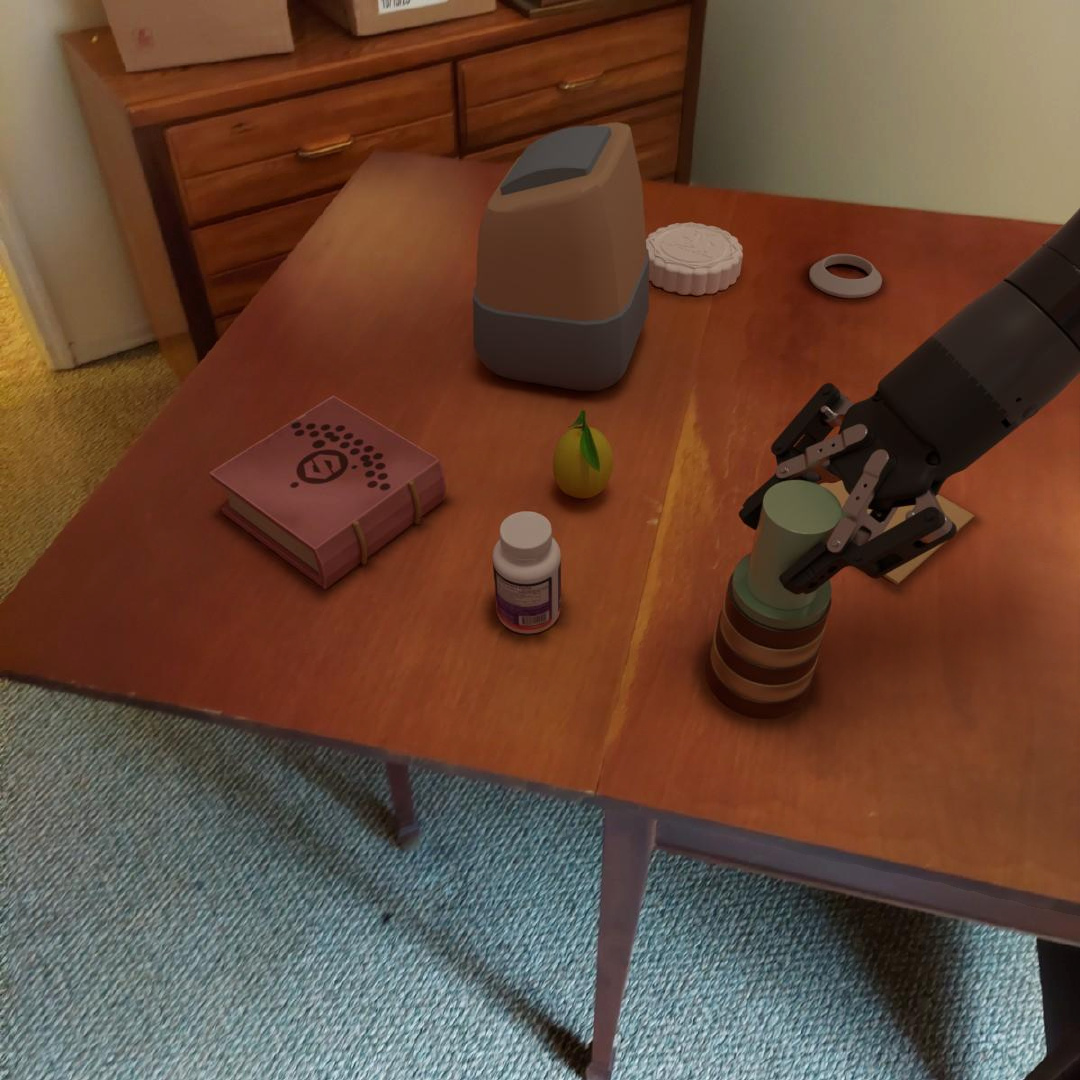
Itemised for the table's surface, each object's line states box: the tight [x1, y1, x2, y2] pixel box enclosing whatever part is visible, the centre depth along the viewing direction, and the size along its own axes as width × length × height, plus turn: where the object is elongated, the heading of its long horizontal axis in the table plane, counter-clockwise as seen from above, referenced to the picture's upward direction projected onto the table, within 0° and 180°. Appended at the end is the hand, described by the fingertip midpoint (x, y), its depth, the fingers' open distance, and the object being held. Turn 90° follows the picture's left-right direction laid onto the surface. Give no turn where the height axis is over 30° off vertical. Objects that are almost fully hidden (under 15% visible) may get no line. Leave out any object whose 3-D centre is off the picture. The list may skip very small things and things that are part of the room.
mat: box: [819, 480, 975, 586], centre depth 87 cm, size 12×12×1 cm
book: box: [208, 395, 447, 590], centre depth 86 cm, size 14×15×5 cm
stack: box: [705, 571, 832, 719], centre depth 71 cm, size 8×8×10 cm
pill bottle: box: [492, 510, 562, 635], centre depth 76 cm, size 5×5×10 cm
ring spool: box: [731, 480, 842, 629], centre depth 65 cm, size 7×7×8 cm
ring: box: [808, 253, 883, 299], centre depth 114 cm, size 8×8×2 cm
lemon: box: [552, 408, 614, 499], centre depth 85 cm, size 7×6×10 cm
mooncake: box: [646, 221, 744, 297], centre depth 115 cm, size 12×12×4 cm
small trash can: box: [472, 121, 650, 392], centre depth 96 cm, size 17×17×23 cm
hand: (767, 553), depth 64 cm, fingers open, 5 cm apart
